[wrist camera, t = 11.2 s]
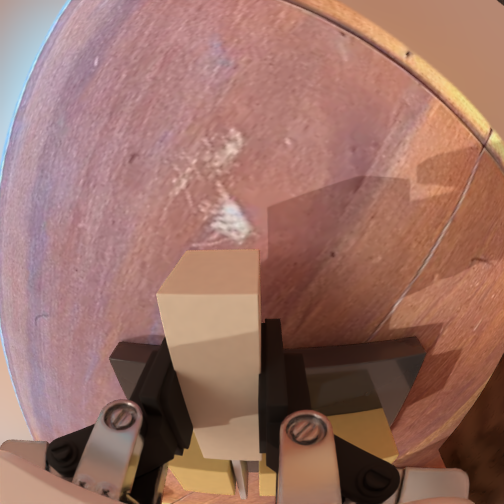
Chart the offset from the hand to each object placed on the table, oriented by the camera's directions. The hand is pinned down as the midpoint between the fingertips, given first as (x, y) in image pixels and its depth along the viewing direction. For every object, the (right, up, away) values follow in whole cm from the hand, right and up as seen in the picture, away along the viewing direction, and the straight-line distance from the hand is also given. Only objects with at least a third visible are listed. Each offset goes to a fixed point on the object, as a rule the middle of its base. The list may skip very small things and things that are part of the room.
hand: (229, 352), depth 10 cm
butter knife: (0, -4, +2) cm, 4 cm away
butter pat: (-2, -7, +4) cm, 8 cm away
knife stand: (+24, -9, +5) cm, 26 cm away
